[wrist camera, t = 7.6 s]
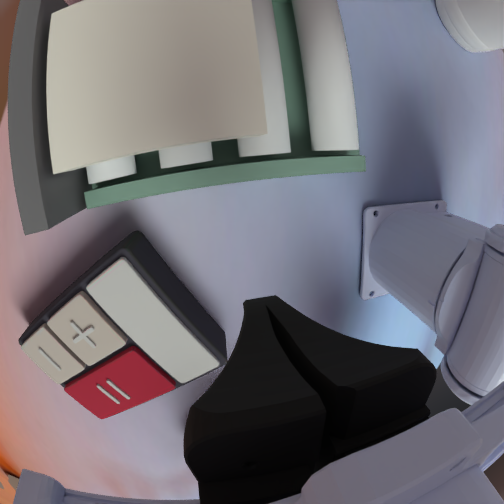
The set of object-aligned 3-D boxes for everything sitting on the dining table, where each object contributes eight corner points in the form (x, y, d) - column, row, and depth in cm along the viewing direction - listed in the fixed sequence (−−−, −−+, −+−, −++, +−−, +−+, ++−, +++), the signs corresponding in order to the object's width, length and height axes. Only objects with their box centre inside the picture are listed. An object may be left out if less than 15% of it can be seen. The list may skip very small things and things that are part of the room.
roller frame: (332, 2, 15) (380, -40, 8) (355, 168, 20) (420, 180, 13) (68, 30, 12) (21, -7, 6) (79, 207, 17) (25, 237, 10)
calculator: (12, 346, 16) (120, 249, 15) (33, 319, 20) (138, 227, 19) (101, 425, 20) (231, 370, 19) (110, 394, 24) (227, 333, 23)
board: (240, -7, 11) (247, -29, 9) (257, 136, 14) (267, 133, 12) (68, 27, 10) (51, 13, 7) (73, 170, 13) (53, 174, 10)
